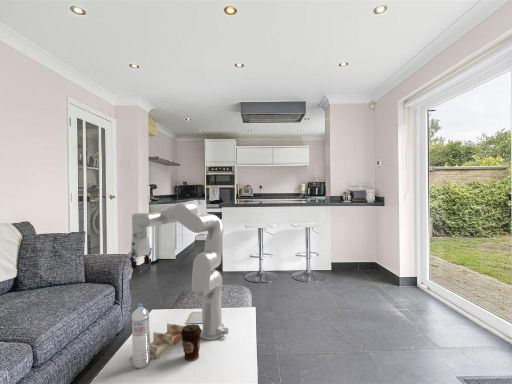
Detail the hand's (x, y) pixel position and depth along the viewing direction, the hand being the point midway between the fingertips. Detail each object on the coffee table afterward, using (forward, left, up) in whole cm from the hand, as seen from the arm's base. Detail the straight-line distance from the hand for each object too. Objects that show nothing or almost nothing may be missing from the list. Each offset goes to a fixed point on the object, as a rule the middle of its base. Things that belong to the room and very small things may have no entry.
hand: (140, 266), depth 160 cm
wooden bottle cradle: (-28, +16, -31) cm, 45 cm away
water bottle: (-30, +32, -31) cm, 53 cm away
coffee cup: (-47, +21, -31) cm, 60 cm away
